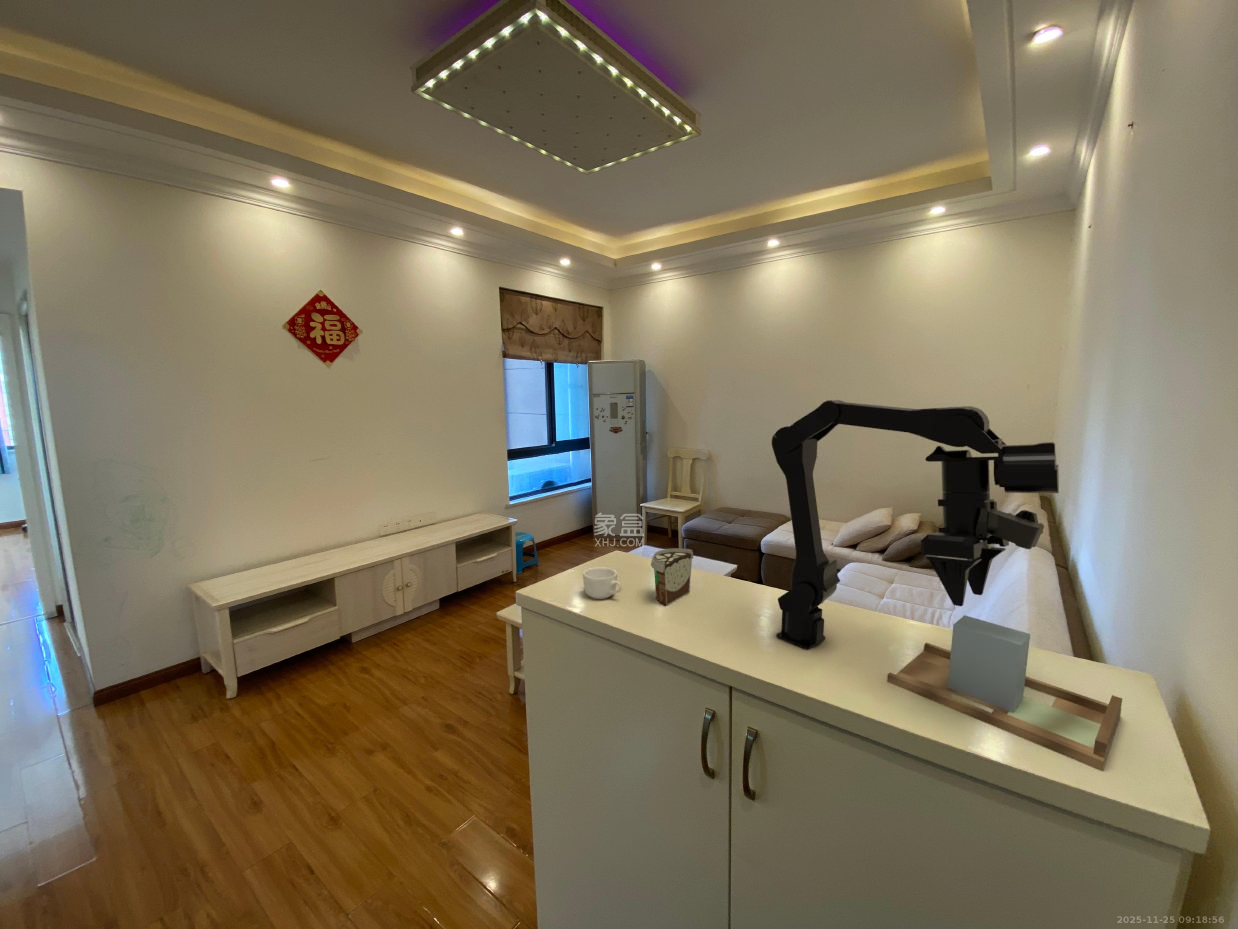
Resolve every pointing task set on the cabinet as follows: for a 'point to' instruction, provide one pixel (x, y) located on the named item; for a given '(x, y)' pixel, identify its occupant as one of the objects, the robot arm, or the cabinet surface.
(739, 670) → the cabinet surface
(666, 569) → the food container
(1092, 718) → the tray
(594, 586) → the teacup
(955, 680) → the slate block
